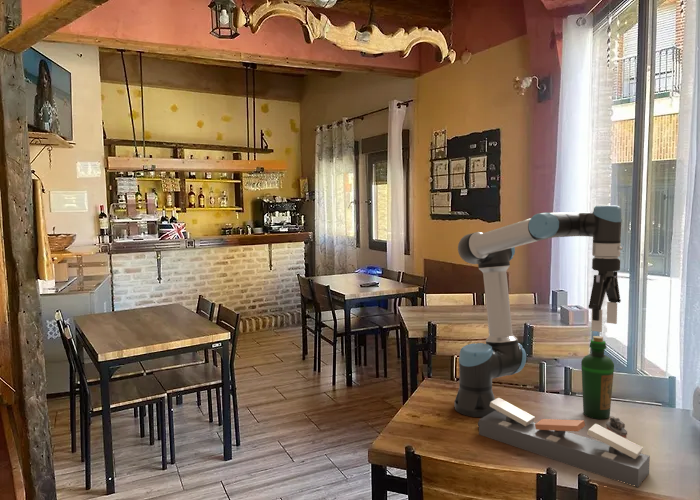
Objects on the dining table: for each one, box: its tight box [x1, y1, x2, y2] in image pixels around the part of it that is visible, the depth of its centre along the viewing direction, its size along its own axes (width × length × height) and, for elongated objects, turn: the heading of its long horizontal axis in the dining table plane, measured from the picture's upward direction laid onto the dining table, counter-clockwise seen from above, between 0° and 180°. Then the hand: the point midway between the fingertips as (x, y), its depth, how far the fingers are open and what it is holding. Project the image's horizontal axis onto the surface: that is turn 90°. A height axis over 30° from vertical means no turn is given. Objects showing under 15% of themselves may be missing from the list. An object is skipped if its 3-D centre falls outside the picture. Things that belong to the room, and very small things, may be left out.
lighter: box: [605, 416, 628, 439], centre depth 155 cm, size 8×3×10 cm, turn 5°
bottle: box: [580, 335, 615, 420], centre depth 181 cm, size 11×11×28 cm
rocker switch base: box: [477, 411, 651, 488], centre depth 155 cm, size 50×10×7 cm, turn 45°
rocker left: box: [490, 397, 536, 426], centre depth 166 cm, size 13×5×2 cm, turn 45°
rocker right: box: [586, 423, 644, 459], centre depth 144 cm, size 13×5×2 cm, turn 45°
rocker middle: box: [535, 418, 586, 432], centre depth 155 cm, size 13×5×2 cm, turn 45°
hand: (604, 327), depth 156 cm, fingers open, 13 cm apart
